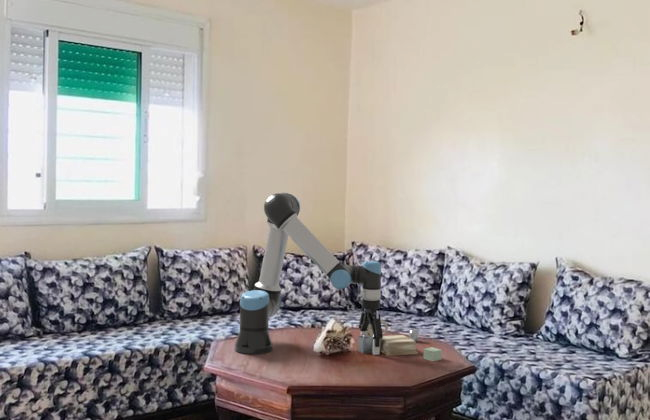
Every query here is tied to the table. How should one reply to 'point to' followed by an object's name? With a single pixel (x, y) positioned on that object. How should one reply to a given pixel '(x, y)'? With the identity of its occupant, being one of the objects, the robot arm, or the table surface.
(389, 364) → the table surface
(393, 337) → the plinth
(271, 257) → the robot arm
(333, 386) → the table surface
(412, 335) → the grey bushing
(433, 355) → the sage block
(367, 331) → the mug
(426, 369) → the table surface
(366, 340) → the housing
